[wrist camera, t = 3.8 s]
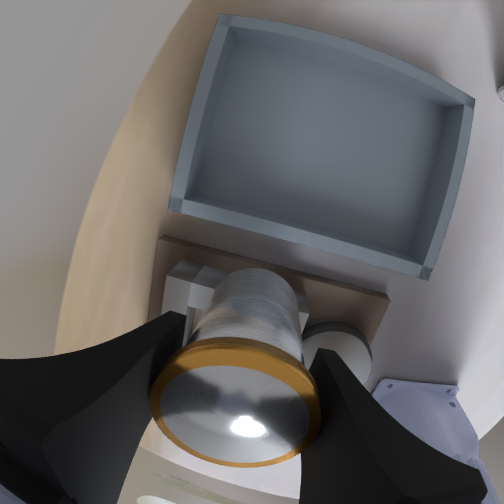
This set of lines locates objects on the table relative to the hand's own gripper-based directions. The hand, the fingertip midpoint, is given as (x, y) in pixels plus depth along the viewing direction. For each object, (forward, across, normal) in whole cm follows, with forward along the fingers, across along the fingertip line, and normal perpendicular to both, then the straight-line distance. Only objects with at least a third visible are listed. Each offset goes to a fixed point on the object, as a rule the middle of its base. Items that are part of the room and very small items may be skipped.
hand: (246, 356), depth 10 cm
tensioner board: (+10, -1, +5) cm, 12 cm away
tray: (+10, -2, -8) cm, 14 cm away
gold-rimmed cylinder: (+4, 0, 0) cm, 4 cm away
